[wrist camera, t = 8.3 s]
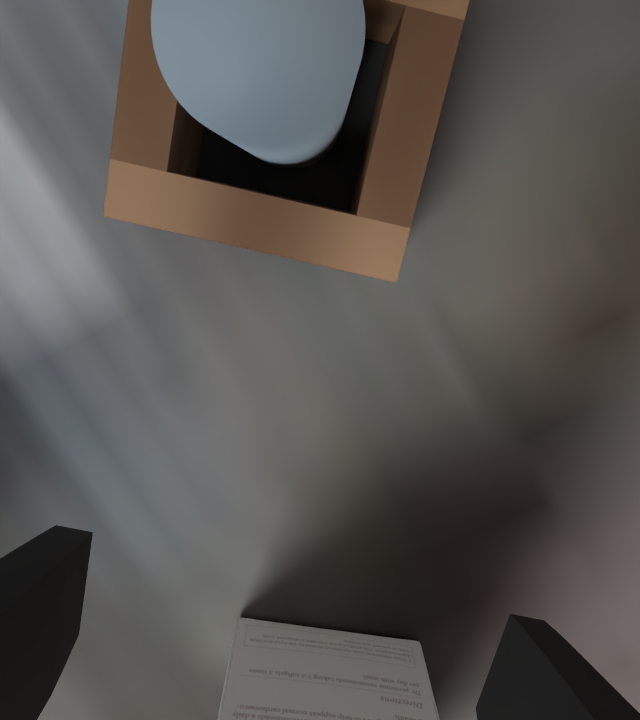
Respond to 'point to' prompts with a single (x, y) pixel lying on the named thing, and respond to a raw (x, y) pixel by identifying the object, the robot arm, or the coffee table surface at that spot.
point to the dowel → (263, 70)
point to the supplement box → (323, 675)
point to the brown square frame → (273, 212)
